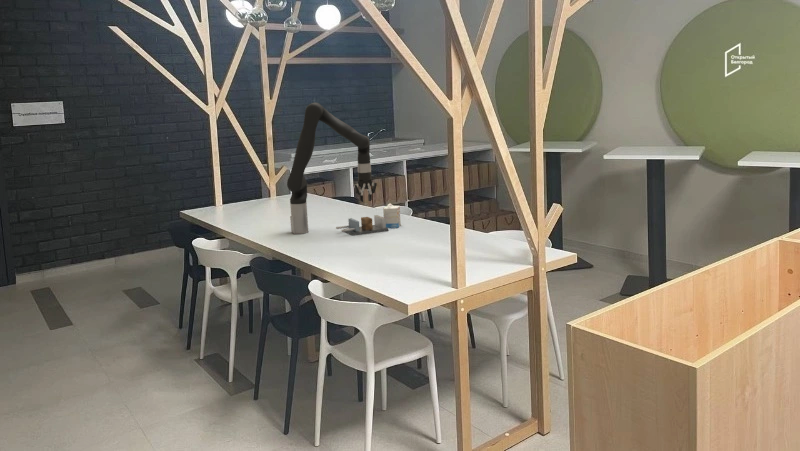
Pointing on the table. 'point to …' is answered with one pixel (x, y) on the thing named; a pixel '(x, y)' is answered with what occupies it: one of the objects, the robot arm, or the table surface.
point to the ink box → (392, 216)
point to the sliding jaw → (351, 225)
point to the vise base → (378, 227)
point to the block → (366, 223)
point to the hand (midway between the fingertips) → (365, 201)
